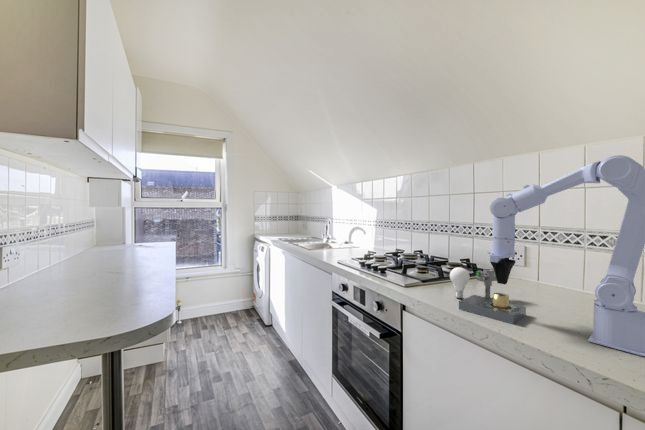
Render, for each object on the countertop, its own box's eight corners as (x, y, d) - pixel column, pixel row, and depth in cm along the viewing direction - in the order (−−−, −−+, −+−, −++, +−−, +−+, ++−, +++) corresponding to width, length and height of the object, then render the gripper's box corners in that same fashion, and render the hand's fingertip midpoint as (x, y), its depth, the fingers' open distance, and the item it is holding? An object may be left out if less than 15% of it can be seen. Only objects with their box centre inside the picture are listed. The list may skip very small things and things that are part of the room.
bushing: (510, 314, 86) (510, 294, 86) (505, 318, 84) (506, 297, 84) (495, 311, 89) (496, 291, 89) (490, 314, 87) (491, 294, 87)
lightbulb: (460, 302, 98) (460, 270, 97) (445, 296, 103) (445, 266, 103) (473, 299, 100) (474, 268, 100) (457, 294, 106) (458, 265, 106)
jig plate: (525, 315, 86) (526, 306, 86) (513, 324, 79) (513, 315, 79) (473, 302, 98) (473, 294, 98) (458, 309, 91) (458, 301, 91)
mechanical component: (473, 297, 102) (474, 269, 102) (494, 295, 106) (494, 268, 106) (480, 300, 100) (481, 271, 99) (501, 297, 103) (502, 269, 103)
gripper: (497, 235, 94) (496, 277, 94) (479, 238, 84) (477, 284, 85) (523, 237, 88) (521, 281, 89) (506, 241, 79) (504, 290, 79)
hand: (502, 283), depth 86 cm, fingers closed
